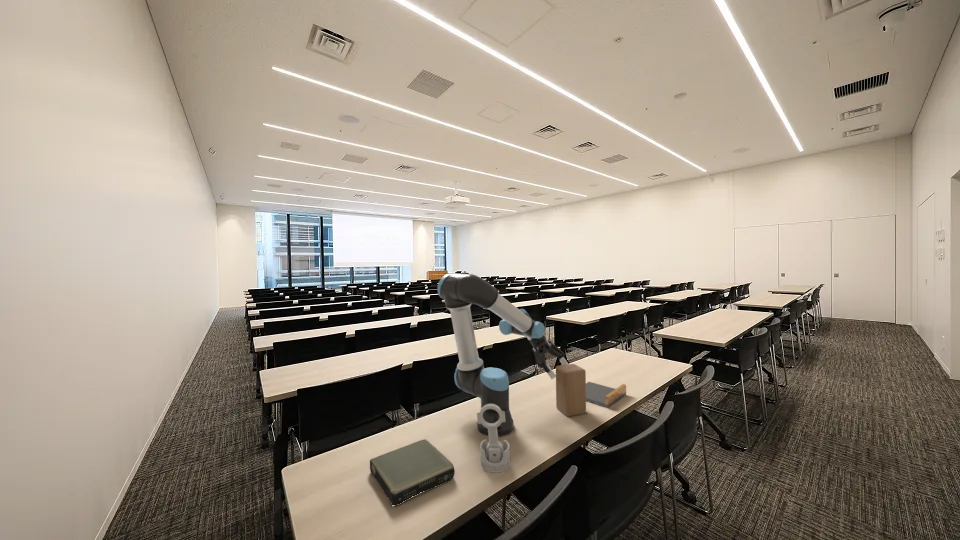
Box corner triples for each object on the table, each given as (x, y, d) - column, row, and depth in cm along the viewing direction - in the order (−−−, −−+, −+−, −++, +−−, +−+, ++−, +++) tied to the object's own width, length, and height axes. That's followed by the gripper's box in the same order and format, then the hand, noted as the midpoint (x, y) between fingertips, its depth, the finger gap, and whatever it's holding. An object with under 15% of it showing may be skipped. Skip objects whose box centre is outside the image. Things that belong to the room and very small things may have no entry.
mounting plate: (569, 395, 168) (569, 385, 168) (588, 384, 182) (588, 375, 182) (608, 407, 154) (608, 397, 154) (626, 394, 168) (626, 384, 168)
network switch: (422, 447, 126) (421, 434, 126) (462, 476, 109) (462, 461, 109) (362, 476, 110) (361, 461, 110) (398, 515, 93) (398, 498, 93)
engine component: (509, 473, 110) (509, 455, 120) (508, 411, 109) (508, 398, 119) (476, 472, 111) (479, 454, 121) (474, 411, 110) (478, 398, 120)
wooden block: (555, 407, 155) (554, 365, 155) (574, 404, 158) (573, 362, 158) (567, 417, 146) (566, 372, 145) (587, 413, 149) (586, 369, 148)
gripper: (545, 336, 177) (570, 370, 167) (515, 346, 160) (541, 385, 150) (553, 327, 173) (580, 362, 163) (524, 337, 156) (552, 377, 146)
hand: (562, 373), depth 157 cm, fingers open, 13 cm apart
